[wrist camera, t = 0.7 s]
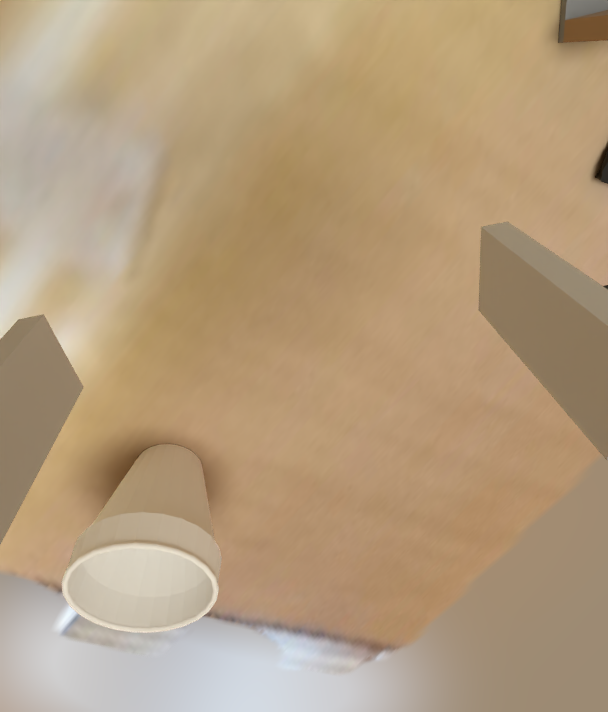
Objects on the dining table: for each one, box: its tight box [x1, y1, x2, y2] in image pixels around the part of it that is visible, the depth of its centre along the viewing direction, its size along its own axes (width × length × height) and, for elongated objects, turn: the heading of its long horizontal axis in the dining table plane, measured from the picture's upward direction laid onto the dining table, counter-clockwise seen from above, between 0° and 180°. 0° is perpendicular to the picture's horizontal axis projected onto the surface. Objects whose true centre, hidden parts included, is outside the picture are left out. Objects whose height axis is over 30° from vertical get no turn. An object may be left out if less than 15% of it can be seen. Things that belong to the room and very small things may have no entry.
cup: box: [62, 444, 222, 633], centre depth 43 cm, size 12×12×14 cm
